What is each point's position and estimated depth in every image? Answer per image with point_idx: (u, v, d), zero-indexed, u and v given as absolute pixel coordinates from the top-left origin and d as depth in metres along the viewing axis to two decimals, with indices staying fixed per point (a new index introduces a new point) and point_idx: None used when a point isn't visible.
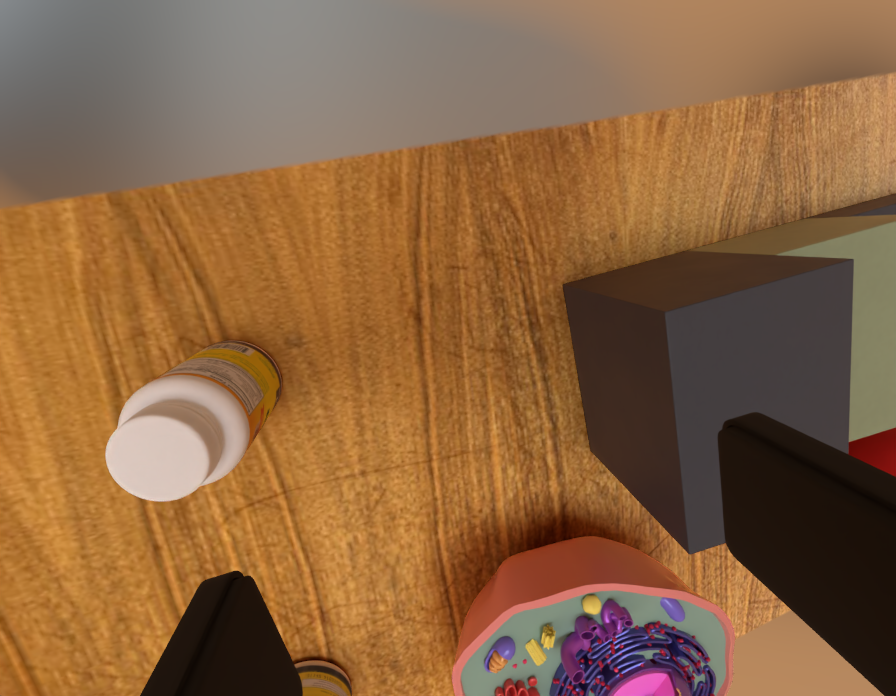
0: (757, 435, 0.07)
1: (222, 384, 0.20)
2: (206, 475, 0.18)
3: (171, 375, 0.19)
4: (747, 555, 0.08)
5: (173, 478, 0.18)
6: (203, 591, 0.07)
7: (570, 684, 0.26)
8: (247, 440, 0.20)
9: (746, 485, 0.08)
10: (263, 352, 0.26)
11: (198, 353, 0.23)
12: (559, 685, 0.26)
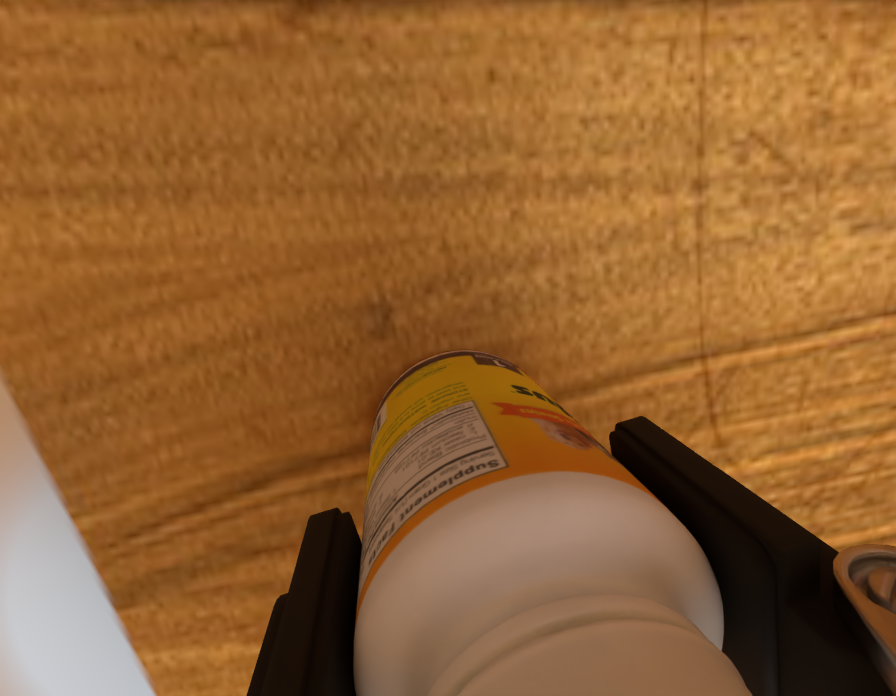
0: (635, 437, 0.08)
1: (394, 540, 0.06)
2: None
3: None
4: None
5: None
6: (314, 522, 0.08)
7: None
8: (594, 483, 0.06)
9: None
10: (395, 383, 0.12)
11: None
12: None
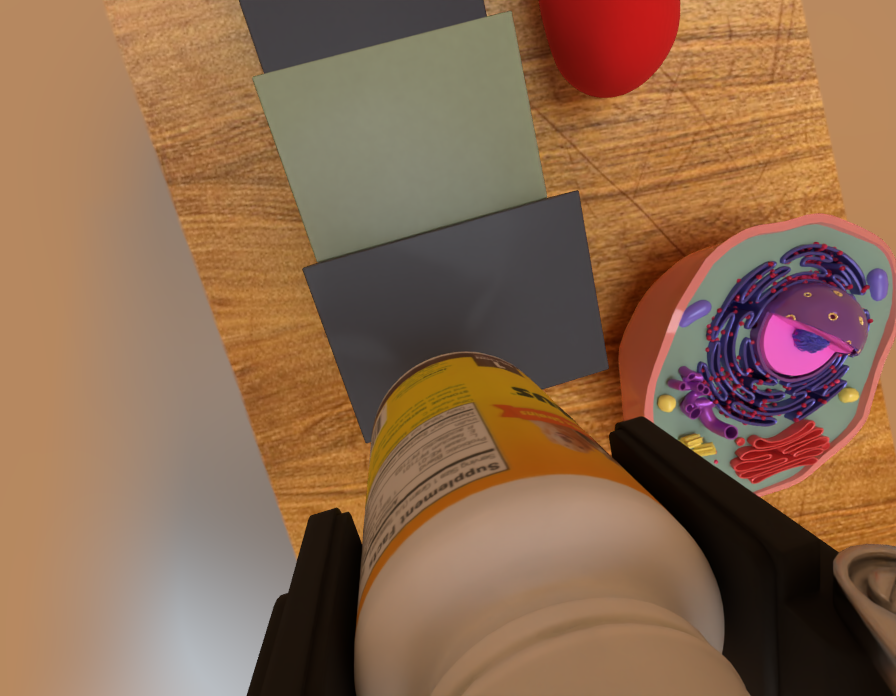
0: (635, 437, 0.08)
1: (394, 542, 0.06)
2: None
3: None
4: None
5: None
6: (315, 522, 0.08)
7: (751, 413, 0.27)
8: (594, 486, 0.06)
9: None
10: (395, 384, 0.12)
11: None
12: (748, 423, 0.27)
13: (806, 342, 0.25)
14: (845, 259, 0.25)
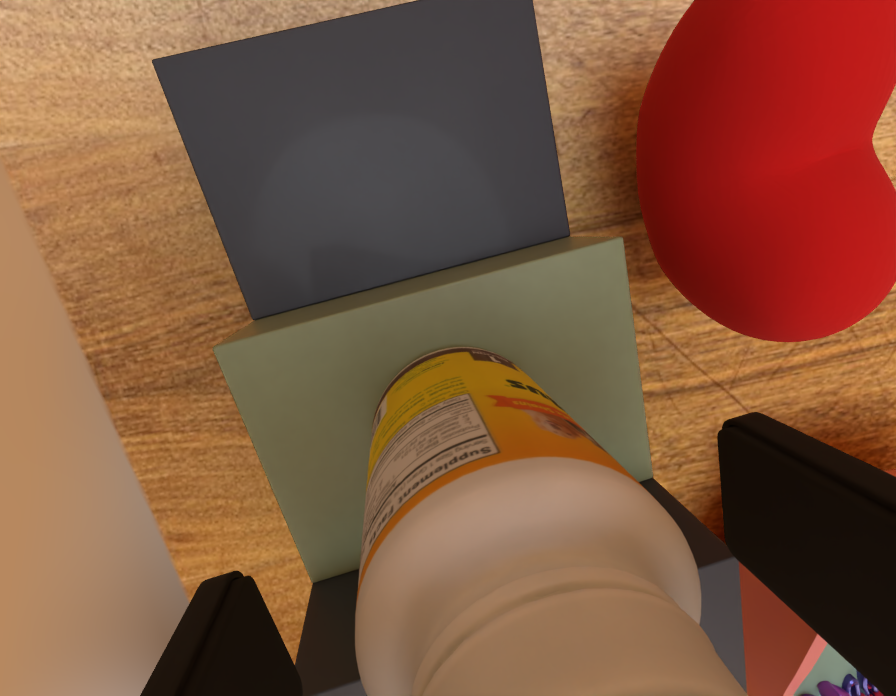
0: (757, 435, 0.07)
1: (392, 520, 0.06)
2: (712, 685, 0.04)
3: None
4: (747, 555, 0.08)
5: None
6: (203, 591, 0.07)
7: None
8: (578, 467, 0.06)
9: (746, 485, 0.08)
10: (395, 378, 0.13)
11: None
12: None
13: None
14: None
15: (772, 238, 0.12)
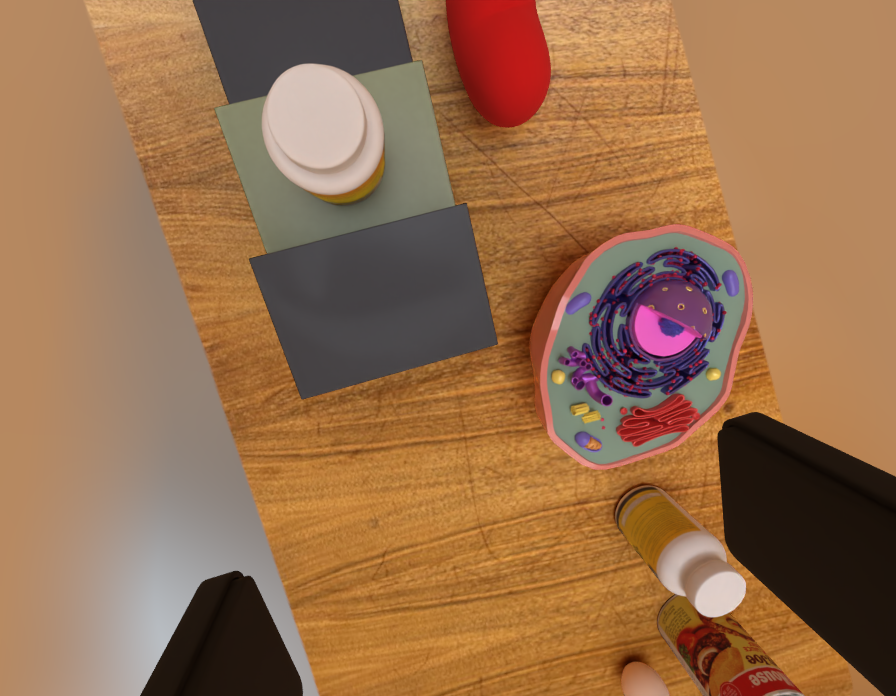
0: (757, 435, 0.07)
1: None
2: (335, 71, 0.17)
3: None
4: (747, 556, 0.08)
5: (336, 104, 0.17)
6: (203, 591, 0.07)
7: (629, 386, 0.33)
8: None
9: (746, 485, 0.08)
10: None
11: None
12: (627, 395, 0.33)
13: (667, 328, 0.31)
14: (700, 262, 0.31)
15: (483, 51, 0.25)
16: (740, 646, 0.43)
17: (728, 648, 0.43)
